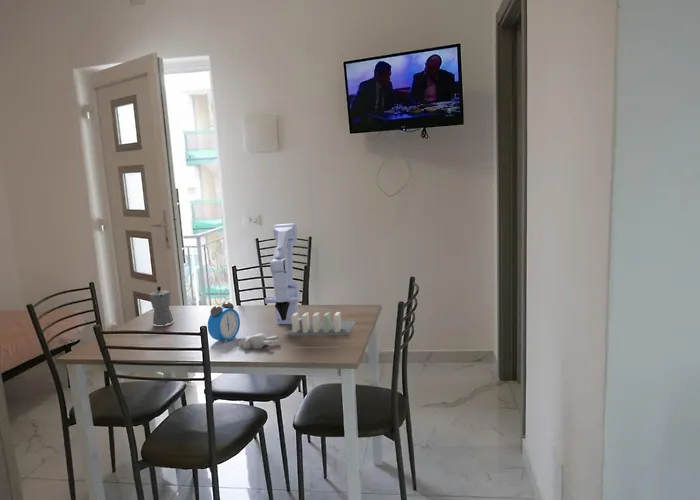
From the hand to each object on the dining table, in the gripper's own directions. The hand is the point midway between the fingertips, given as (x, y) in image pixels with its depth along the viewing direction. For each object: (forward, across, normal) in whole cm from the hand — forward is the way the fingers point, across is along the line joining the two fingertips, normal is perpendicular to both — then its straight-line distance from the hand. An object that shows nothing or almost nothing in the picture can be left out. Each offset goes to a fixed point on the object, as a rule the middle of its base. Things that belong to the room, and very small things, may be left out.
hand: (284, 319), depth 228 cm
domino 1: (+5, +5, 0) cm, 7 cm away
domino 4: (+5, +18, 0) cm, 19 cm away
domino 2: (+5, +9, 0) cm, 11 cm away
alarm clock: (+5, -22, -10) cm, 25 cm away
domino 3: (+5, +14, 0) cm, 15 cm away
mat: (+5, +15, +4) cm, 16 cm away
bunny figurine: (+6, -5, -19) cm, 20 cm away
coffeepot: (+5, -64, +14) cm, 66 cm away
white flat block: (+5, +23, 0) cm, 23 cm away
